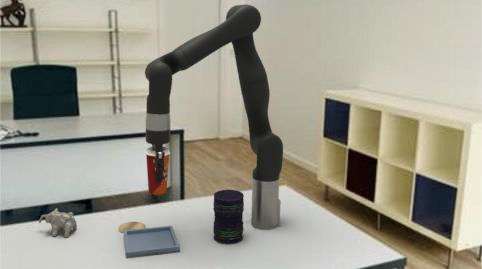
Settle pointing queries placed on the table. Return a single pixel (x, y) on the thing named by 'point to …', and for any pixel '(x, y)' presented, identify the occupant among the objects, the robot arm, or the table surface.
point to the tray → (150, 241)
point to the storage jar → (228, 216)
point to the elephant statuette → (60, 221)
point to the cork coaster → (131, 226)
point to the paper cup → (152, 185)
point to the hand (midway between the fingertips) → (157, 178)
